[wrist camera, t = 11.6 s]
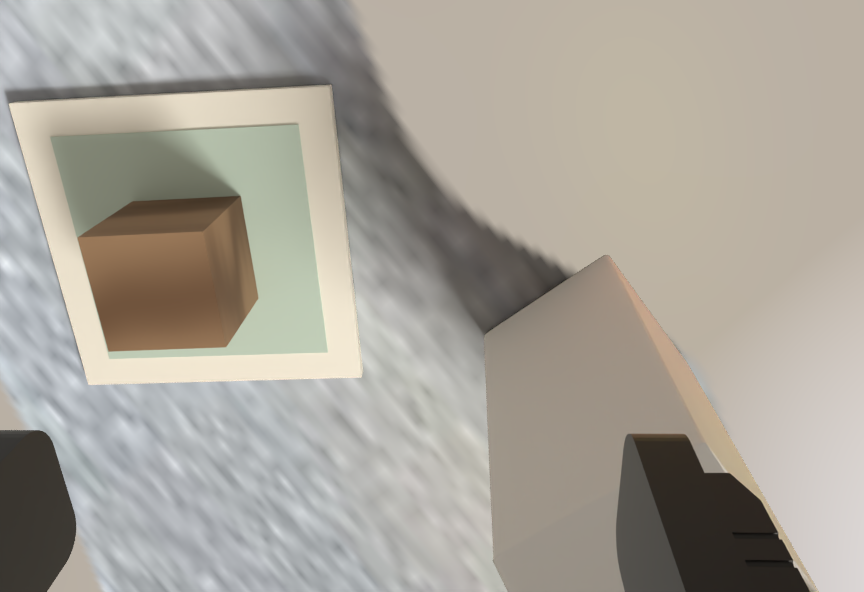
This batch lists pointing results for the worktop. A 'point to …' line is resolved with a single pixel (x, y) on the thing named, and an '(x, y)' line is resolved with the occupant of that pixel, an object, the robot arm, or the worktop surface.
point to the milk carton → (585, 428)
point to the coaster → (201, 178)
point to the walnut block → (171, 273)
